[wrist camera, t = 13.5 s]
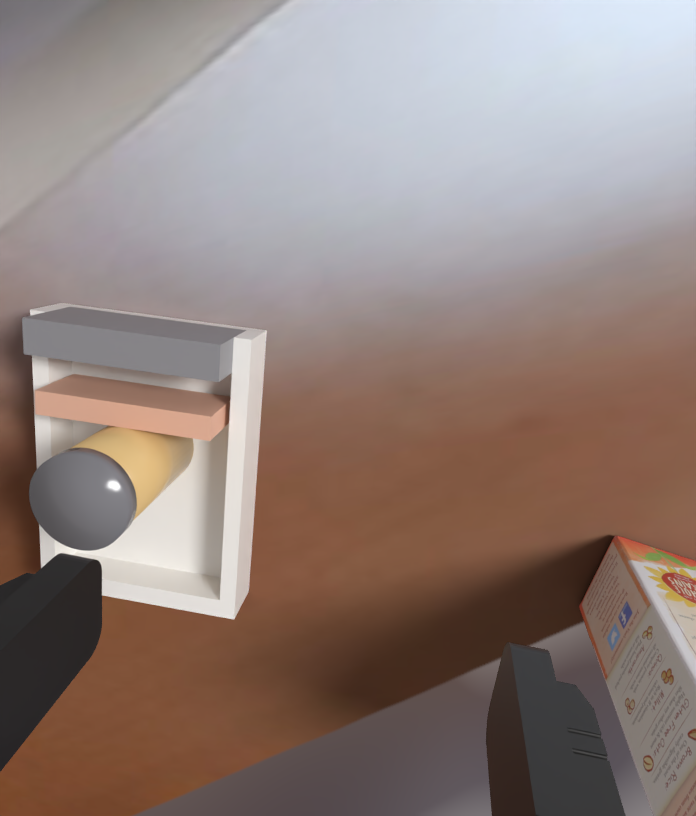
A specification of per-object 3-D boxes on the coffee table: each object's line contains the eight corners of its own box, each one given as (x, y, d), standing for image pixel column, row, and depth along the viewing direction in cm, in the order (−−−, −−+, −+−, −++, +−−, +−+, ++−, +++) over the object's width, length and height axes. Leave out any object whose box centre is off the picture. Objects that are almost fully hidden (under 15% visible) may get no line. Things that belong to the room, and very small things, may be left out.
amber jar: (117, 397, 39) (26, 446, 31) (196, 410, 39) (127, 463, 30) (116, 474, 41) (31, 541, 32) (193, 487, 40) (127, 558, 32)
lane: (62, 302, 39) (4, 315, 34) (266, 330, 38) (239, 347, 33) (69, 559, 44) (20, 603, 39) (248, 591, 43) (222, 641, 38)
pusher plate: (74, 373, 39) (34, 390, 35) (234, 397, 38) (211, 416, 34) (74, 395, 39) (35, 414, 36) (232, 419, 38) (210, 441, 34)
